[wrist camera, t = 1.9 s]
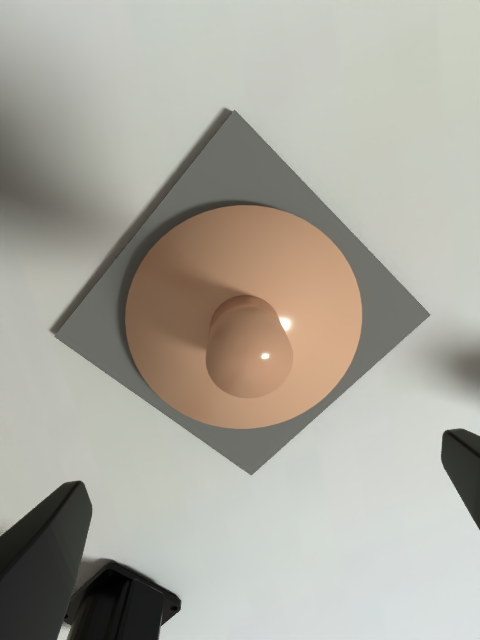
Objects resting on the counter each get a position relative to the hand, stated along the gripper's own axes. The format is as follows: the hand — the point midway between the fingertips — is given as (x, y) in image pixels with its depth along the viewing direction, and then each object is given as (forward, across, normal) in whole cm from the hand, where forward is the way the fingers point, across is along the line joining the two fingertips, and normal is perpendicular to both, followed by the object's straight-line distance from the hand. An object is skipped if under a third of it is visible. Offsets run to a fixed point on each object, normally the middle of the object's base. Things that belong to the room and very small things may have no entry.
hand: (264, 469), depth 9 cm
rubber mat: (+10, 0, 0) cm, 11 cm away
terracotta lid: (+10, 0, 0) cm, 10 cm away
